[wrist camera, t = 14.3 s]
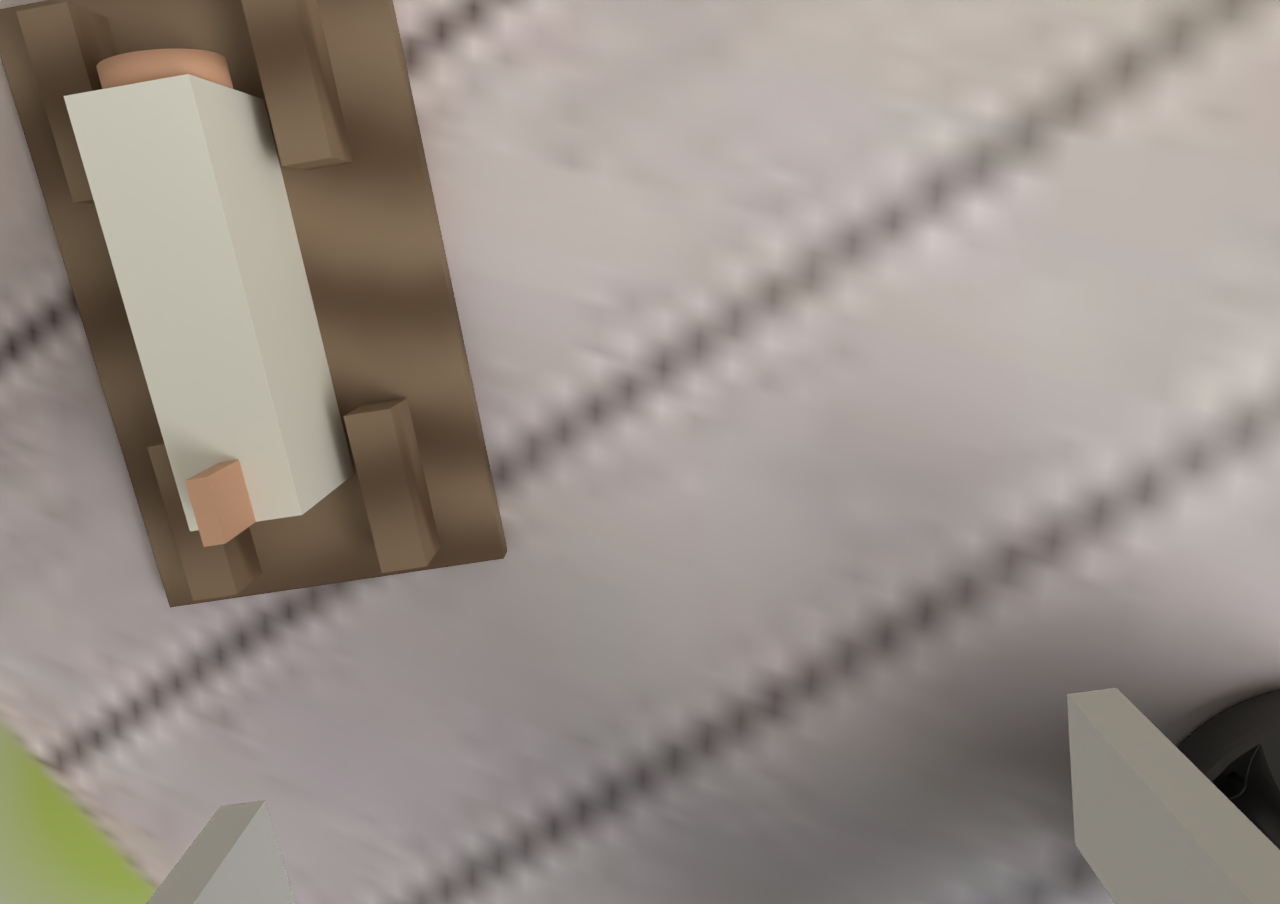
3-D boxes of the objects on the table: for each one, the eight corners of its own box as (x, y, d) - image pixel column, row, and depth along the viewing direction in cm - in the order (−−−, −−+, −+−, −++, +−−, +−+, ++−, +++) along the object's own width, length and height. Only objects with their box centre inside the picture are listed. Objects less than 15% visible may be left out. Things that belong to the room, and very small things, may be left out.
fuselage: (354, 474, 40) (275, 536, 32) (257, 488, 40) (154, 553, 32) (256, 68, 36) (136, 19, 28) (149, 87, 36) (0, 44, 28)
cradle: (507, 550, 42) (493, 578, 38) (181, 598, 43) (140, 630, 39) (381, -54, 36) (352, -84, 32) (4, 18, 37) (-63, -5, 33)
